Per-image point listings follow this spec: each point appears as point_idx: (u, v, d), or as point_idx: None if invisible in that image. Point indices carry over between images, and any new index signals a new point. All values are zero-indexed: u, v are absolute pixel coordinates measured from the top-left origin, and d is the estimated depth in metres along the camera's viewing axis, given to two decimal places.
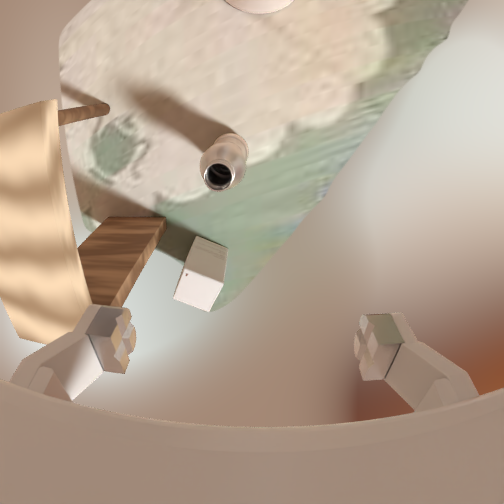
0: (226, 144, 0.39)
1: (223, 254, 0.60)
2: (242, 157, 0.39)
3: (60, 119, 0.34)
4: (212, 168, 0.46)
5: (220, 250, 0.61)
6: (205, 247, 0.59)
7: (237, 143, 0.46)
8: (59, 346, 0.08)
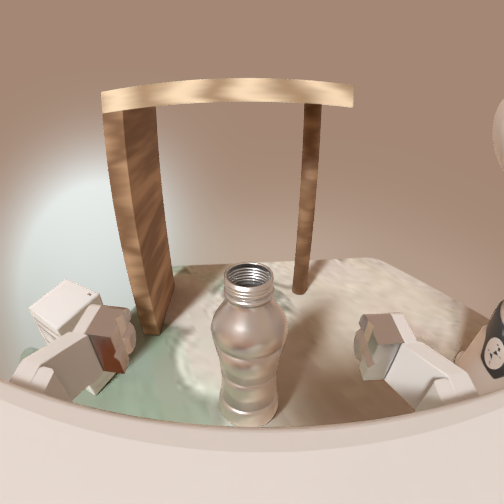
0: (287, 326, 0.25)
1: None
2: (268, 343, 0.23)
3: (308, 201, 0.45)
4: None
5: None
6: None
7: (271, 388, 0.28)
8: (59, 346, 0.08)
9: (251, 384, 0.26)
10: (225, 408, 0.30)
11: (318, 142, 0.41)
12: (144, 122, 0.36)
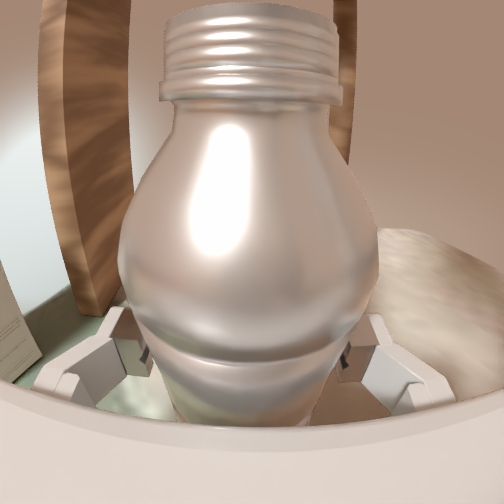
0: None
1: None
2: (330, 286, 0.05)
3: (343, 115, 0.27)
4: None
5: None
6: (7, 345, 0.17)
7: None
8: (83, 351, 0.08)
9: None
10: None
11: (355, 34, 0.23)
12: None
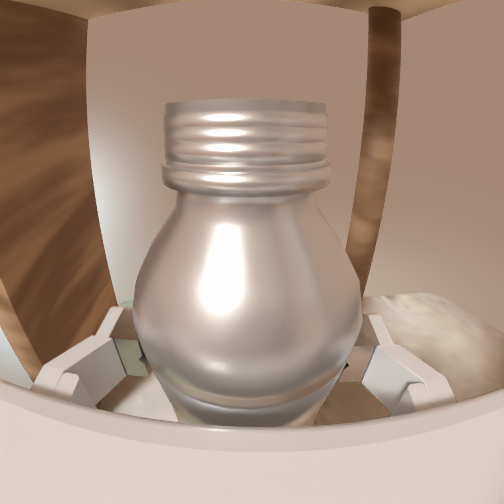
0: None
1: None
2: (305, 353, 0.06)
3: (373, 203, 0.21)
4: None
5: None
6: None
7: None
8: (83, 351, 0.08)
9: None
10: None
11: (398, 86, 0.17)
12: (46, 38, 0.13)
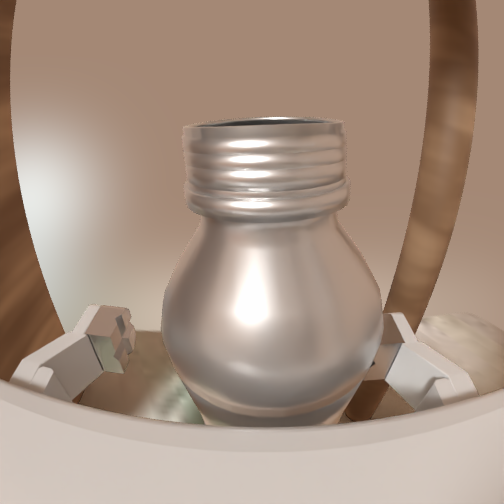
0: None
1: None
2: (332, 365, 0.06)
3: (448, 205, 0.12)
4: None
5: None
6: None
7: None
8: (59, 346, 0.08)
9: None
10: None
11: None
12: None
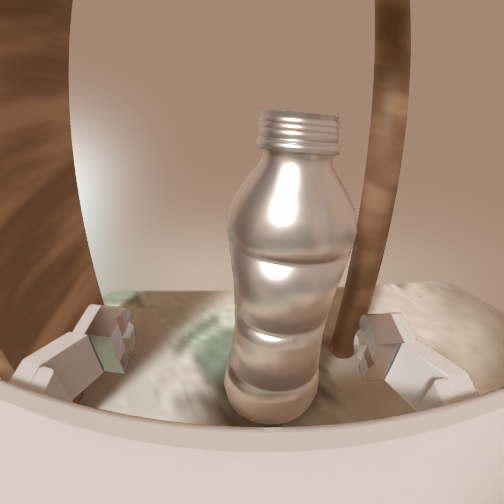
0: None
1: None
2: (329, 230, 0.13)
3: (388, 166, 0.18)
4: None
5: None
6: None
7: (315, 351, 0.17)
8: (59, 346, 0.08)
9: (285, 333, 0.15)
10: (233, 385, 0.19)
11: (409, 38, 0.14)
12: None
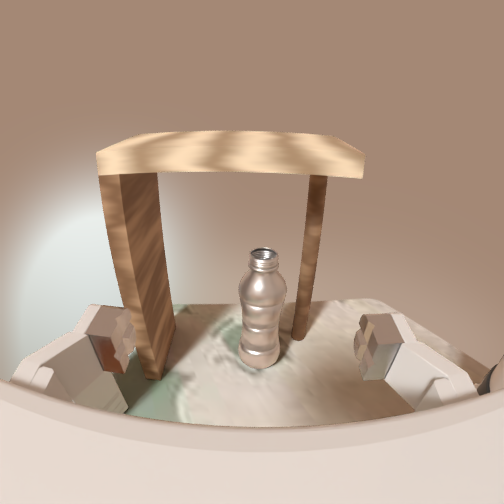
0: (285, 289, 0.41)
1: None
2: (272, 296, 0.39)
3: (310, 256, 0.45)
4: None
5: None
6: (112, 407, 0.35)
7: (274, 335, 0.44)
8: (59, 346, 0.08)
9: (261, 328, 0.42)
10: (242, 350, 0.46)
11: (323, 198, 0.41)
12: (143, 176, 0.36)
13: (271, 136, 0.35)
